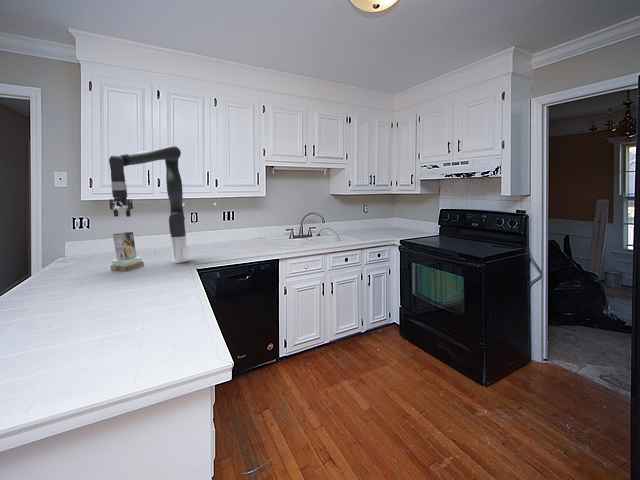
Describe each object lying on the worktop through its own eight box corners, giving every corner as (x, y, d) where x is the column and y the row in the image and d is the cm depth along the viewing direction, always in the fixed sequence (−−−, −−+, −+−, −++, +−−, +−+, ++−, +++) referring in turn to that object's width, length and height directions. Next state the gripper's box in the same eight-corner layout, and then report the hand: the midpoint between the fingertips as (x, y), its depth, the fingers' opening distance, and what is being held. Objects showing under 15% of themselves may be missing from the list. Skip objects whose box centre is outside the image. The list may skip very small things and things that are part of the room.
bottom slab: (144, 267, 204) (143, 261, 204) (127, 272, 192) (127, 266, 191) (128, 266, 207) (127, 260, 206) (111, 271, 194) (110, 265, 194)
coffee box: (128, 257, 204) (124, 232, 201) (136, 257, 202) (133, 231, 200) (116, 260, 195) (112, 233, 192) (125, 260, 193) (121, 233, 191)
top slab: (141, 261, 203) (141, 257, 203) (125, 266, 192) (124, 261, 191) (129, 260, 206) (128, 256, 206) (112, 265, 195) (111, 260, 194)
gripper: (134, 189, 193) (137, 216, 196) (114, 189, 196) (117, 215, 199) (124, 189, 186) (127, 217, 189) (104, 189, 189) (107, 217, 192)
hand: (122, 216), depth 194 cm, fingers open, 8 cm apart
